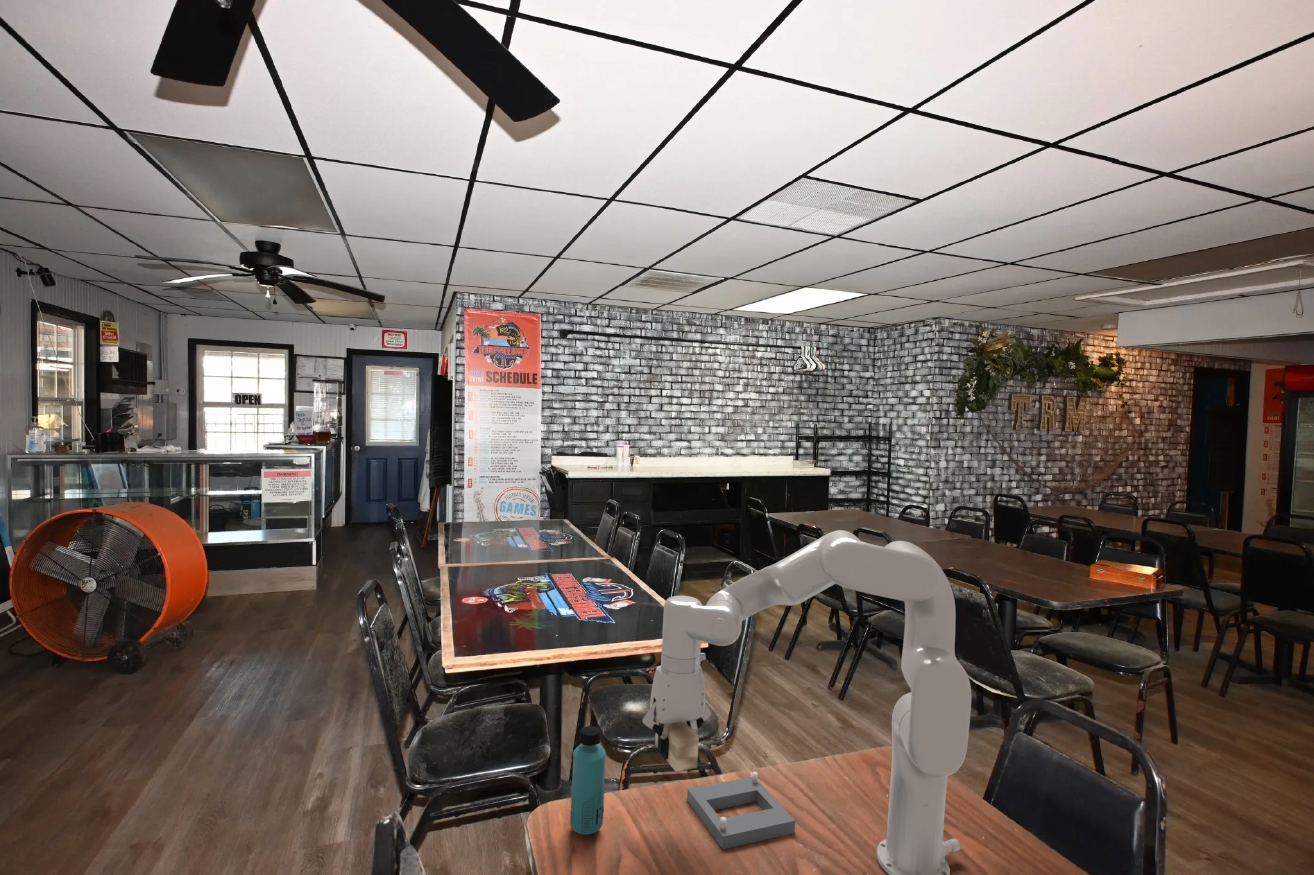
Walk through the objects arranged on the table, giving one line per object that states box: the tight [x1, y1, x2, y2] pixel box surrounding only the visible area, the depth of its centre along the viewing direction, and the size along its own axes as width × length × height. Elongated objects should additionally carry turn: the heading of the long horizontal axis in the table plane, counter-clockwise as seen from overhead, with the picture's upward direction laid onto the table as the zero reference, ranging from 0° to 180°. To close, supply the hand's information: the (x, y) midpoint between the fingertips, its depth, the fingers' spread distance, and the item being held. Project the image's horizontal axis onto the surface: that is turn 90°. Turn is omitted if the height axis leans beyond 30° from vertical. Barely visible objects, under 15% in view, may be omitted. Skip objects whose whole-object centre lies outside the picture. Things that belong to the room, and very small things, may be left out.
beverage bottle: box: [569, 725, 607, 835], centre depth 124 cm, size 6×7×20 cm
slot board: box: [686, 771, 796, 850], centre depth 131 cm, size 16×16×4 cm
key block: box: [654, 716, 700, 772], centre depth 126 cm, size 4×10×6 cm, turn 23°
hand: (675, 752), depth 126 cm, fingers closed on key block, 4 cm apart
